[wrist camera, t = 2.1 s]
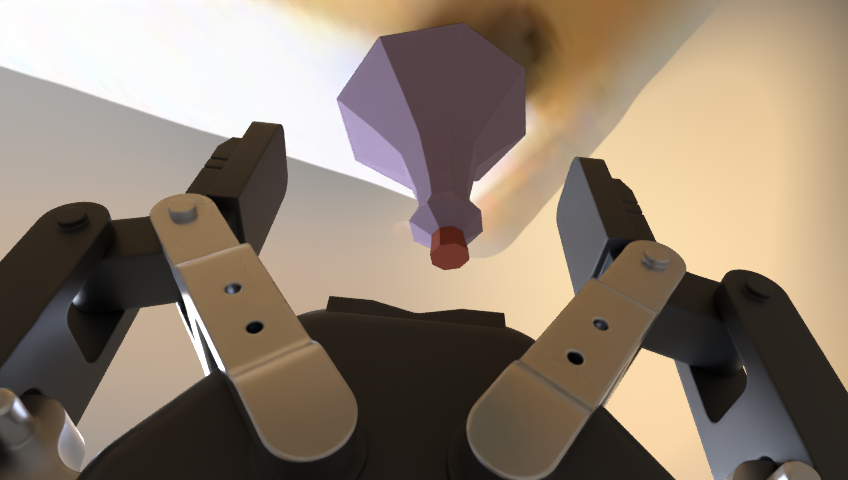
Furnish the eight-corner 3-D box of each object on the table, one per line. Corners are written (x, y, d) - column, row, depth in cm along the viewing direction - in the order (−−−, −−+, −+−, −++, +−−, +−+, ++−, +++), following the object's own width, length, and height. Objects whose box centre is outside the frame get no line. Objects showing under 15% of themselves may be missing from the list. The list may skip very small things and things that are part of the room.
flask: (471, -48, 38) (517, 96, 24) (550, 114, 49) (614, 278, 35) (300, 64, 44) (259, 231, 30) (404, 187, 54) (409, 353, 41)
